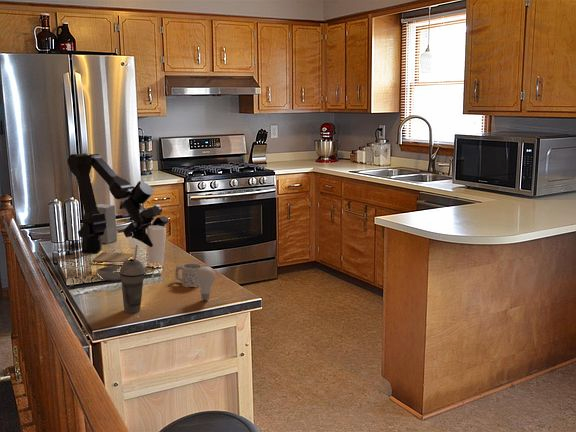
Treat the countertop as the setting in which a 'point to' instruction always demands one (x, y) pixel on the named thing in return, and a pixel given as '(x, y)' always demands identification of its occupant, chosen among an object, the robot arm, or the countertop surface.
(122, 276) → the beverage cup
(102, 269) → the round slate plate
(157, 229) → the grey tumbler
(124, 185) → the robot arm
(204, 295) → the lightbulb
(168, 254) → the countertop surface
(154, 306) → the countertop surface
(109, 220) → the skincare box
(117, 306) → the countertop surface
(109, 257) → the square walnut board
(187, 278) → the mug
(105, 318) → the countertop surface
